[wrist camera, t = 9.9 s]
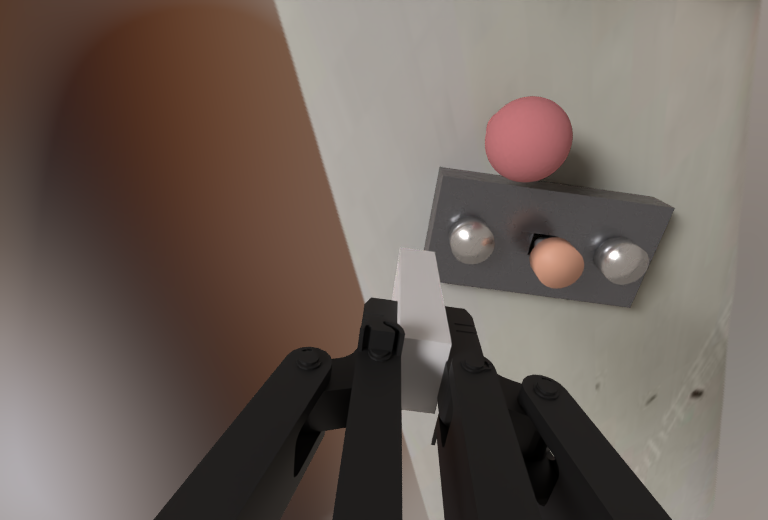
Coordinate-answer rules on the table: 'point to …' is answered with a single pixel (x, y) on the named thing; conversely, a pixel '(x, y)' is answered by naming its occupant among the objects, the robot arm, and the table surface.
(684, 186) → the table surface
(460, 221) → the knob
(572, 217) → the mount plate
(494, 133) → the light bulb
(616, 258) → the knob
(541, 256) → the knob
